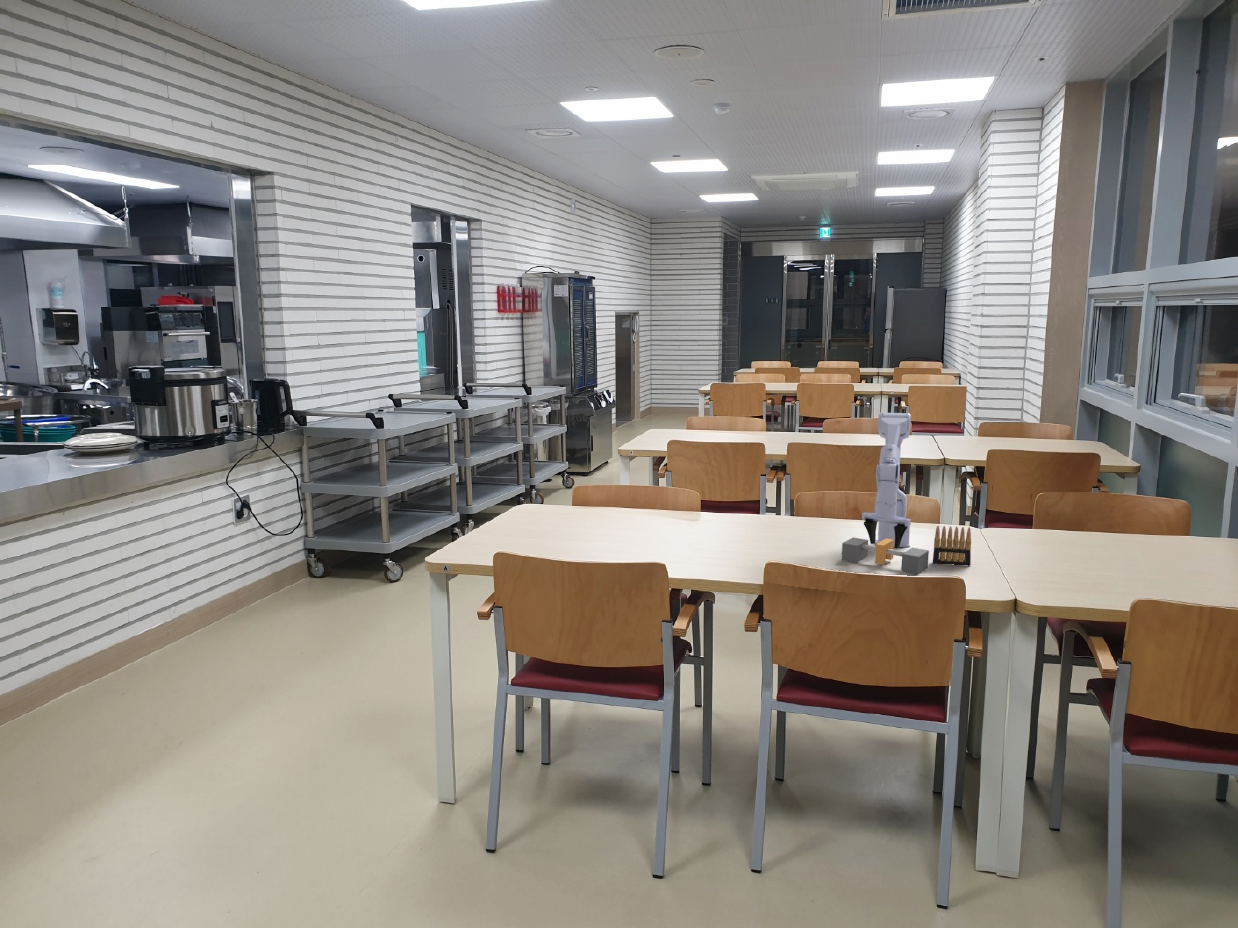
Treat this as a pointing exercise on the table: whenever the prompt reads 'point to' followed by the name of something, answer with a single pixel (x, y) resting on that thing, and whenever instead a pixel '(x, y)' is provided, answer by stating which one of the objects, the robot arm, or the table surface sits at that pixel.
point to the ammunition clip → (953, 553)
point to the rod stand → (911, 559)
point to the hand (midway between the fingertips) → (884, 545)
